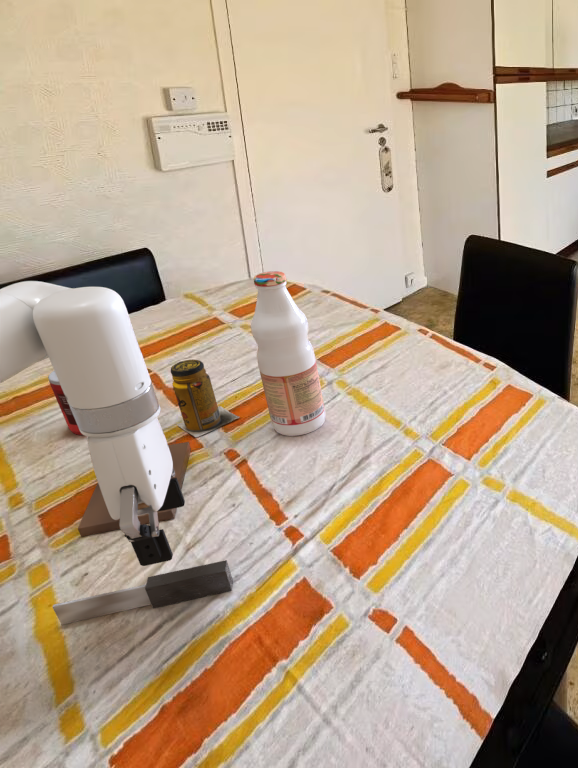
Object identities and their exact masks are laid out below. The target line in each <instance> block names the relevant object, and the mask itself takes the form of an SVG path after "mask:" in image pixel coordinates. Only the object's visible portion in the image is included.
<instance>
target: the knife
mask: <svg viewBox="0 0 578 768" xmlns="http://www.w3.org/2000/svg"><path fill="white" fill-rule="evenodd" d="M231 572H232V571H231V570H230V567H229V562H228V560H227V559H226V560H225V559H224V560H221V561H220V560H219V561H216V562H212V563H207V564H202V565H198V566H193V567H189V568H188V567H187V568H184V569H179V570H174V571H169V572H164V573H160V574H156V575H152V576H147V579H146V583H145V584H142V585H137V586H132V587H128V588H123V589H119V590H114V591H110V592H105V593H100V594H96V595H91V596H86V597H82V598H76V599H73V600H69V601H68V600H67V601H64V602H59V603H55V604H52V610H53V611H54V613H55V615H56V617H57V619H58V622H59V623H60V625H61V626H62V625H67V624H71V623H75V622H81V621H84V620H88V619H94V618H98V617H102V616H107V615H112V614H115V613H119V612H124V611H129V610H134V609H137V608H142V607H146V606H150V605H151V607H152V609H158V608H161V607H165V606H171V605H173V604H175V605H176V604H179V603H184V602H188V601H193V600H197V599H201V598H205V597H210V596H214V595H219V594H222V593H228V592H231V591H232V589H233V581H234V578H233V575H232V573H231Z"/></svg>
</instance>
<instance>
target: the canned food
mask: <svg viewBox="0 0 578 768" xmlns="http://www.w3.org/2000/svg"><path fill="white" fill-rule="evenodd" d="M47 378H48V382H49V385H50V388H51V390H52V392H53V395H54V398H55V399H56V402H57V404H58V406H59V409H60V411H61V414H62V416H63V419H64V420H65V423H66V426H67V428H68V429H69V431H70V432H71V433H73V434H74V435H78V436H84V435H83V434H81V432H80V430H79V428H78V425H77V423H76V420H75V418H74V416H73V413H72V411H71V409H70V406H69V404H68V402H67V399H66V397H65V395H64V392H63V390H62V388H61V385H60V383H59V380H58V378H57V376H56V373H55V371H54V370H52V371H51V372H49V374H48V376H47Z"/></svg>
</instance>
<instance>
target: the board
mask: <svg viewBox="0 0 578 768" xmlns="http://www.w3.org/2000/svg"><path fill="white" fill-rule="evenodd" d="M168 447H169V450H170V453H171V457H172V461H173V468H174V470H175V477H172V478H177V480H178V483H179V486H180V489H181V490H182V487H183V484H184V479H185V474H186V470H187V467H188V462H189V458H190V455H191V450H192V448H191V445H190V442H189V441H184V442H178V443H173V444H168ZM172 478H171V479H172ZM147 507H149V506H148V505H147V504H145V503H140V504H138V509H142V508H147ZM177 510H178V508H173V509H168V510H163V511H157V514H158V523H159V522H164V521H168V520H174V519H175V517H176V513H177ZM138 520H139V522H140V525H143V524H145V525H149V524H150V523H149V514H145V515H140V516H138ZM119 523H120V519H118V520H114V519H113V518H112V517H111V516H110V514H109V511H108V509H107V506H106V503H105V501H104V498H103V495H102V492H101V489H100V486H99V484H98V482H97V483H96V486H95V488H94V491H93V493H92V495H91V497H90V500H89V501H88V504H87V506H86V509H85V511H84V513H83V515H82V517H81V520H80V522H79V525H78V527H77V531H78V532H79V536H80V537H87V536H93V535H97V534H102V533H108V532H112V531H117V530H121V529H120V524H119Z"/></svg>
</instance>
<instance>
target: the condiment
mask: <svg viewBox="0 0 578 768" xmlns="http://www.w3.org/2000/svg"><path fill="white" fill-rule="evenodd" d="M170 375H171V376H172V384H171V385H172V389H173V393H174V395H175V398H176V402H177V405H178V408H179V411H180V415H181V418H182V420H183V421H182V422H179V423H176V426H178V428H180V429H182V430H183V431H184V432H186V433H188V434H189V435H191V436H193V437H194V438H198V437H201V436H203V435H205V434H206V435H207V434H208V433H210V432H212V431H214V430H217V429H218V428H221V427H222V426H225V425H227V424H229V423H231V422H234V421H235V420H237V419H240V418H241V417H240V416H239V415H236V414H234V413H233V412H231V411H229V410H228V409H227V408H224V407H223V406H221V405H218V402H217V399H216V395H215V391H214V389H213V384H212V381H211V377H210V375H209V374H208V373H207V370H206V368H205V365H204V362H202V361H201V360H199V359H186V360H182V361H179V362H176V363H174V364H173V365H172V366H171V367H170Z"/></svg>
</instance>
